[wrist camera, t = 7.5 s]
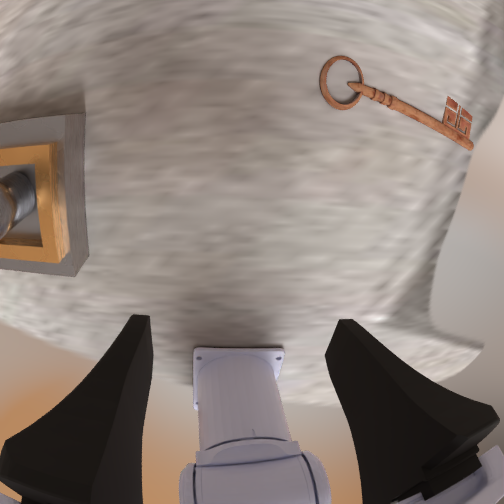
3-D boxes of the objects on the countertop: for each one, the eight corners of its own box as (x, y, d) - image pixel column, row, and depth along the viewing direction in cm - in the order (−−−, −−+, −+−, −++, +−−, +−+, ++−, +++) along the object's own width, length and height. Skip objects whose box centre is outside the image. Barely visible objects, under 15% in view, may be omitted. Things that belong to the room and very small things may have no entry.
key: (472, 107, 18) (328, 27, 15) (479, 107, 18) (333, 23, 14) (462, 166, 20) (312, 102, 17) (469, 167, 20) (318, 101, 16)
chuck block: (89, 255, 19) (69, 285, 16) (8, 249, 18) (-18, 274, 14) (85, 113, 15) (57, 115, 12) (-4, 123, 14) (-38, 131, 10)
